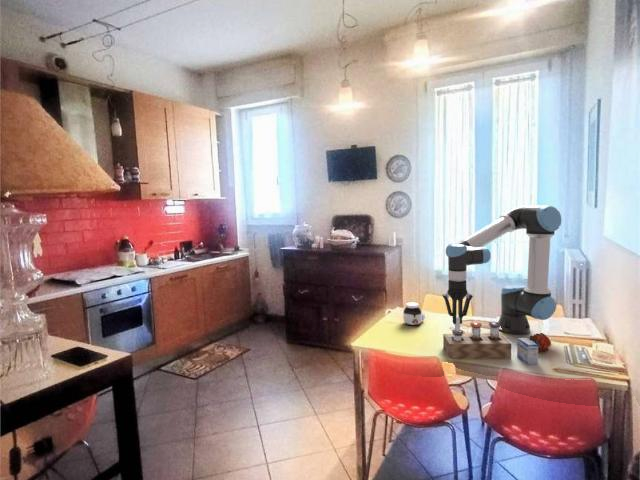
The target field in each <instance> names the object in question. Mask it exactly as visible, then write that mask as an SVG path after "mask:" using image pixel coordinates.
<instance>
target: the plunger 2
mask: <svg viewBox="0 0 640 480" xmlns="http://www.w3.org/2000/svg"><path fill="white" fill-rule="evenodd" d="M470 327H471V334H472V341H480V334H481V327H482V323H481V322H478V321H472V322H470Z"/></svg>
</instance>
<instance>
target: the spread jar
mask: <svg viewBox="0 0 640 480" xmlns="http://www.w3.org/2000/svg"><path fill="white" fill-rule="evenodd" d="M419 306H420V305H419V303H418V302H413V301H412V302H411V301H410V302H407V303H405V308H404V310H403V312H402V313H403V317H402V318H403V322H404V324H405V325H407V326H408V327H418V326H420V325H421V324H422V322H423V321H424V320H425V318H426V314H425V313H424V312H423V311H422V310H421V308H420V307H419Z"/></svg>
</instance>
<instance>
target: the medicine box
mask: <svg viewBox="0 0 640 480" xmlns="http://www.w3.org/2000/svg"><path fill="white" fill-rule="evenodd" d="M529 339H530V338H528V337H519V338H517V348H516V349H517V352H516V353H517V354H516V357H517V359H519V360H521V361H523V362H524V363H525V364H526V365H528V366H529V365H537V364H538V363H539V362H538V361H539V352H538V344H536V343H534V342H533V341H531V340H529Z"/></svg>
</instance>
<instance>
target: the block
mask: <svg viewBox="0 0 640 480" xmlns="http://www.w3.org/2000/svg"><path fill="white" fill-rule="evenodd" d="M442 339H443V341H442V342H443V343H442V344H443V345H442V346H443V350H444V352H445V354H446V355H447V357H448V359H449V360H511V359H512V342H511V341H510V340H508V339H507V337H505V336H504V334H502V333H501V332H499V340H495V341H491V340H490V332H489V333H487V332H486V333H480V341H472V333H463V334H462V341H454V339H453V333H443V335H442Z"/></svg>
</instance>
